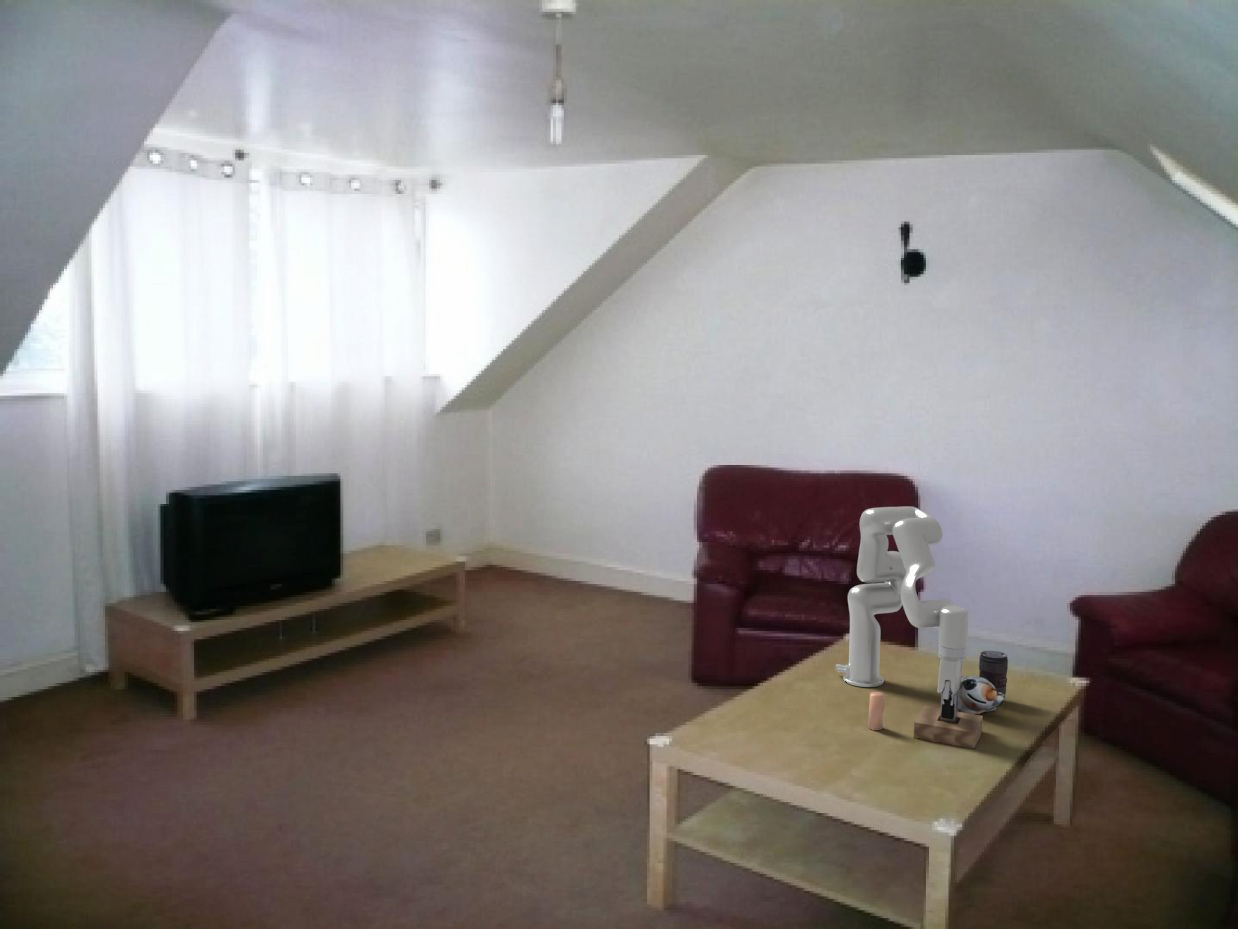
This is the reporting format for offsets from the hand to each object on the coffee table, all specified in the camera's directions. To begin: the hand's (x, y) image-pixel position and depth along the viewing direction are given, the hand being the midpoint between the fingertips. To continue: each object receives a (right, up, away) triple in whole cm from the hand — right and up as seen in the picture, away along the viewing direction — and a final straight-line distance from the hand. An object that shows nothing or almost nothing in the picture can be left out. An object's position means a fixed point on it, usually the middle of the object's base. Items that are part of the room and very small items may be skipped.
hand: (949, 714), depth 286 cm
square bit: (0, -3, 0) cm, 4 cm away
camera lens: (+21, -3, +27) cm, 34 cm away
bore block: (0, -6, +1) cm, 6 cm away
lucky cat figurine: (+14, -4, +19) cm, 24 cm away
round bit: (-19, -5, +5) cm, 20 cm away
